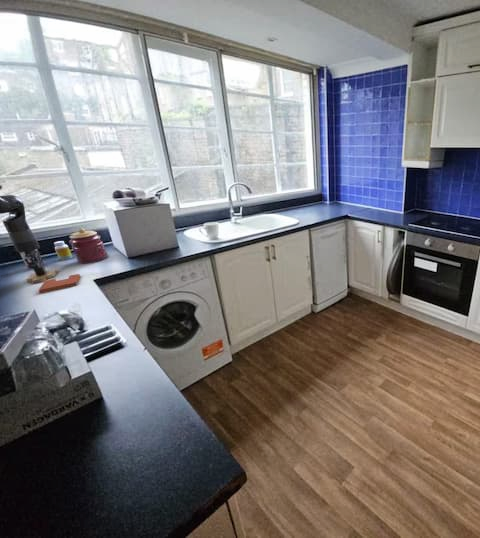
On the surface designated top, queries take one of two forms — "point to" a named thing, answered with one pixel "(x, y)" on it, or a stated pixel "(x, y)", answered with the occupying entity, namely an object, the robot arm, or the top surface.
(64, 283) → the rubber pad
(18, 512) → the top surface
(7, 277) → the top surface
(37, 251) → the robot arm
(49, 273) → the cork pad
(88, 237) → the kitchen canister
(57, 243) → the supplement bottle
